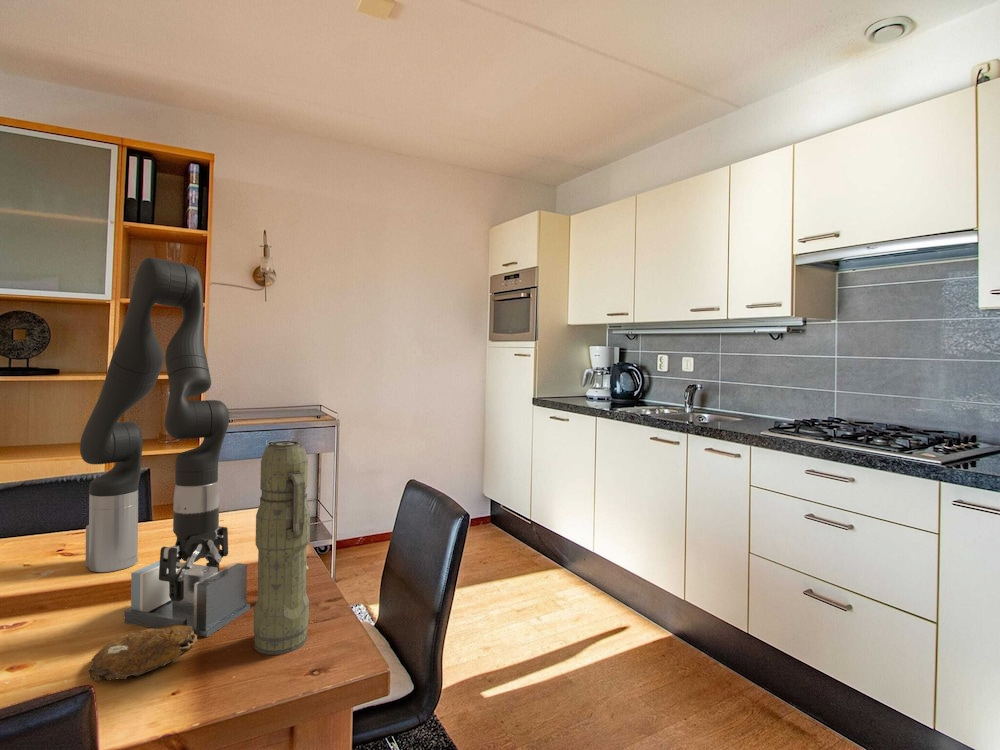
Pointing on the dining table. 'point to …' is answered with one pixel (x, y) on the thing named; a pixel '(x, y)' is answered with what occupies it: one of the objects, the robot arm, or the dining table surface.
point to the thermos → (282, 550)
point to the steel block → (191, 589)
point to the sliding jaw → (148, 588)
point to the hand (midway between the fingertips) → (195, 590)
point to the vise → (203, 604)
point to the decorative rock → (141, 652)
